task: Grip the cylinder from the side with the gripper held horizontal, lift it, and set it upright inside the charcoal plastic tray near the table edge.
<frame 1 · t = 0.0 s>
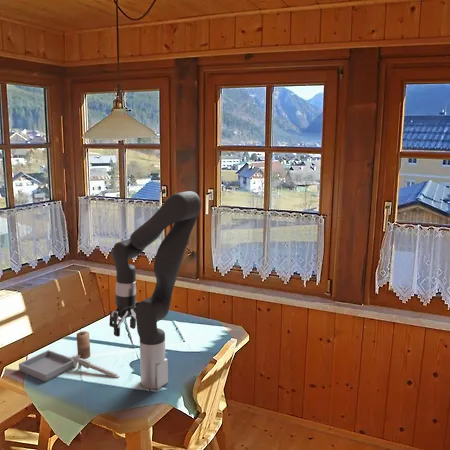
hand: (125, 331, 182), 17 cm above the table, tool pointing down, fingers open, 8 cm apart
cylinder: (84, 356, 199), on the table
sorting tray: (47, 368, 188), on the table
caliper: (96, 373, 186), on the table
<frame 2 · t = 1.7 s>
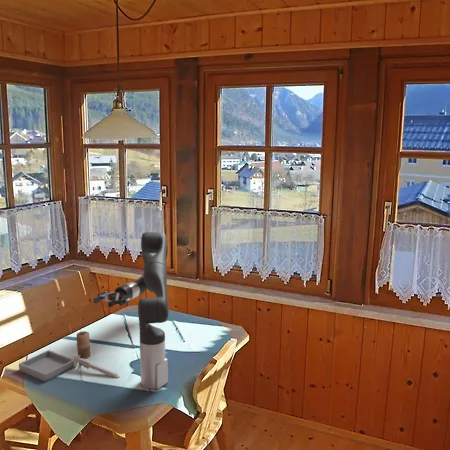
hand: (101, 303, 204), 20 cm above the table, tool horizontal, fingers open, 8 cm apart
nothing on the table moved.
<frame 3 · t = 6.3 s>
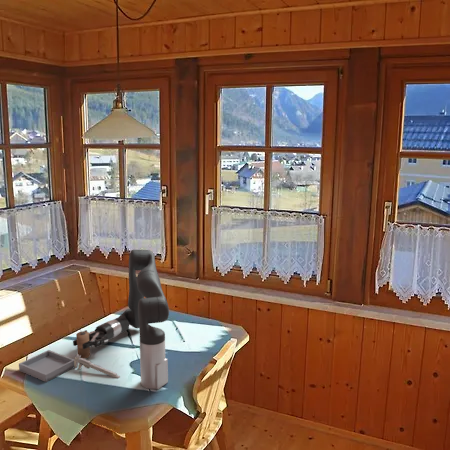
hand: (78, 345, 195), 6 cm above the table, tool horizontal, fingers closed on cylinder, 5 cm apart
cylinder: (84, 356, 199), on the table, touching gripper
everything else where it was.
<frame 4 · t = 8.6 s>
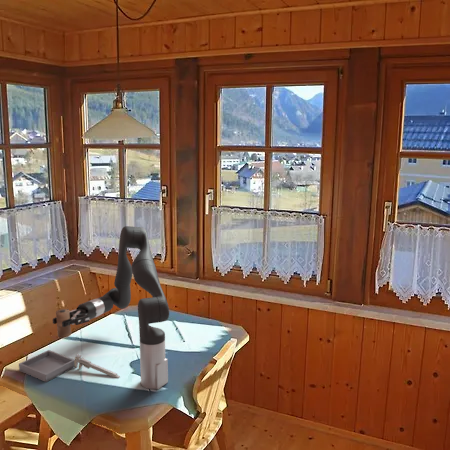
hand: (58, 323, 188), 18 cm above the table, tool horizontal, fingers closed on cylinder, 5 cm apart
cylinder: (64, 334, 191), point 12 cm above the table, touching gripper
everything else where it was.
when the fingers open (8 cm above the table, at t = 11.3 s): cylinder drops 1 cm, resting on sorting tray.
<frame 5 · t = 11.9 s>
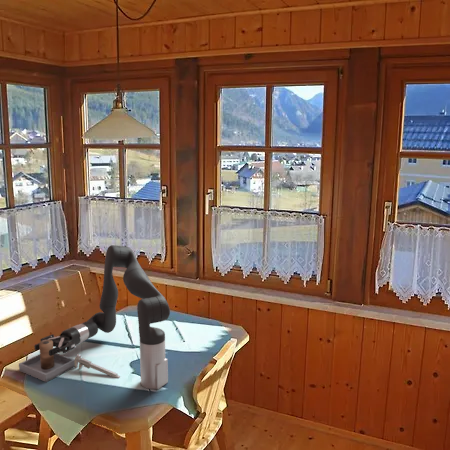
hand: (42, 350, 185), 8 cm above the table, tool horizontal, fingers open, 8 cm apart
cylinder: (47, 366, 188), point 1 cm above the table, touching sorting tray
everything else where it was.
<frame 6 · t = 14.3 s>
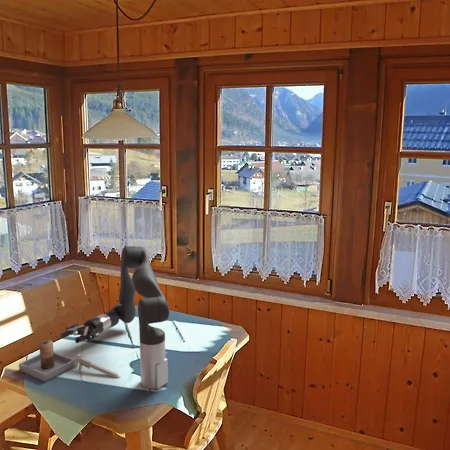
hand: (68, 338, 196), 9 cm above the table, tool horizontal, fingers open, 8 cm apart
nothing on the table moved.
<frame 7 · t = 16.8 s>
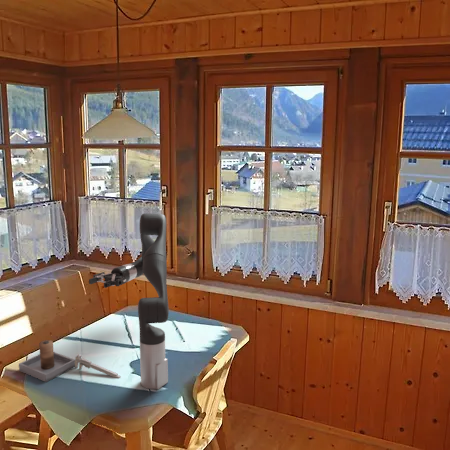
hand: (96, 283, 198), 30 cm above the table, tool horizontal, fingers open, 8 cm apart
nothing on the table moved.
at the end: cylinder inside the target area on the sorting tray (0.1 cm from its centre), point 1.0 cm above the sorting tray's base; cylinder tilted 0°; the gripper is holding nothing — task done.
